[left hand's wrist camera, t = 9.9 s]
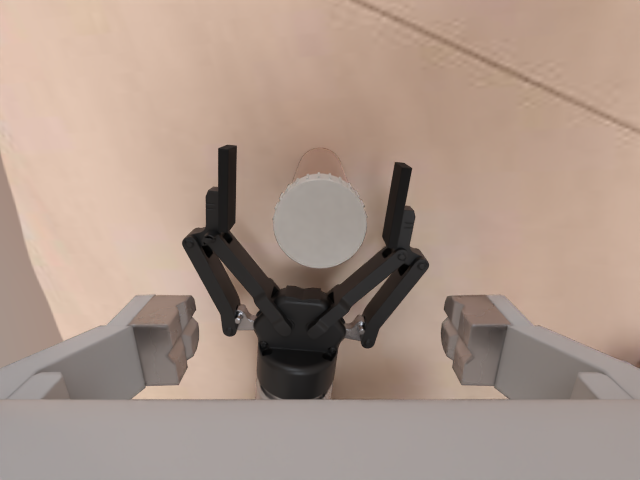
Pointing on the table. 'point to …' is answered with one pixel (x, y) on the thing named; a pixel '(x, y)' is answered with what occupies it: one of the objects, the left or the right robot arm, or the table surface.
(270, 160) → the table surface
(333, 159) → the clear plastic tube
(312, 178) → the lid
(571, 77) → the table surface
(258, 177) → the table surface
